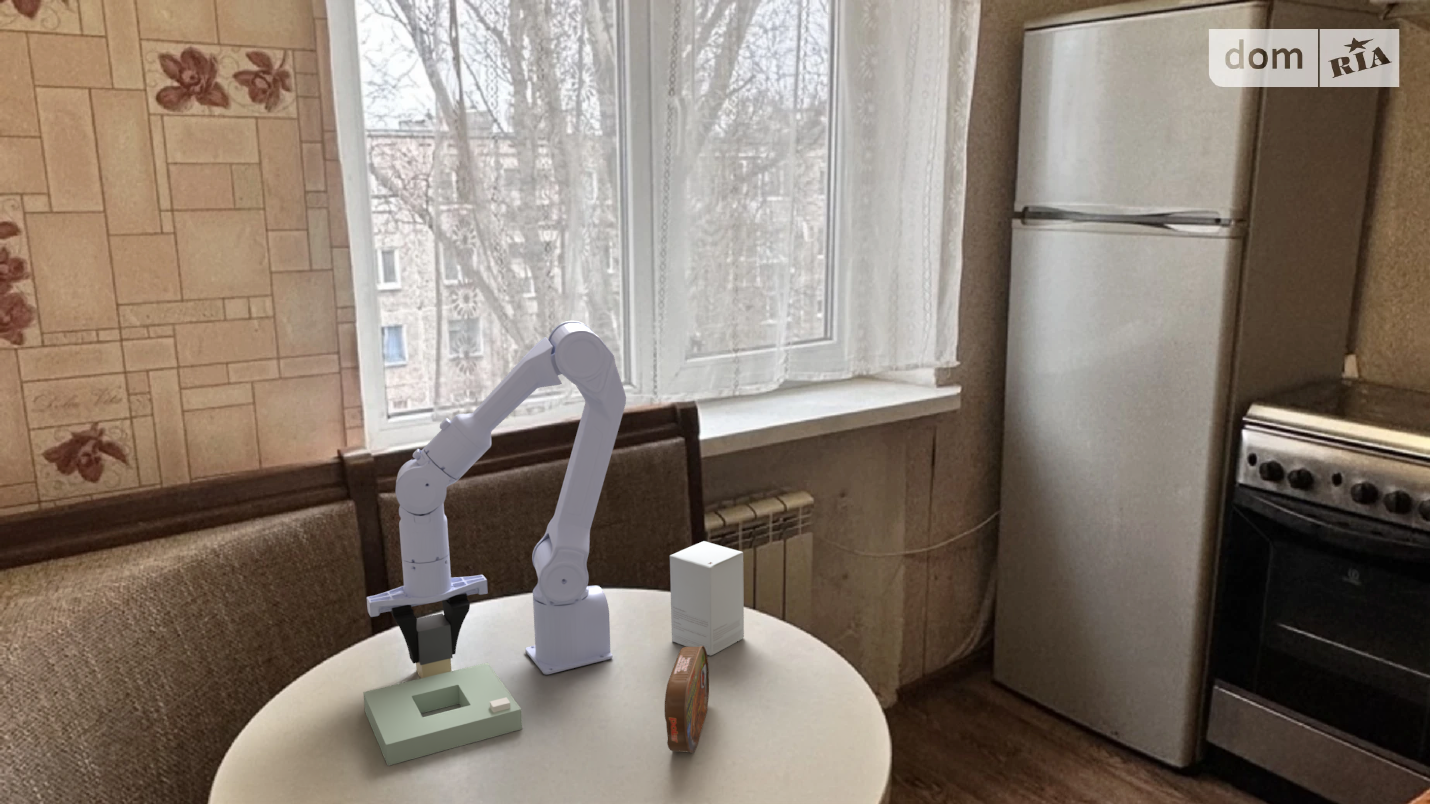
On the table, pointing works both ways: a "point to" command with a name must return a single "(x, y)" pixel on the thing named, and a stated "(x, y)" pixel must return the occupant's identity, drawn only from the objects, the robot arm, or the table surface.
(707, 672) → the tin
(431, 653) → the plug
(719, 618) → the supplement box
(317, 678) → the table surface
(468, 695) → the socket panel
